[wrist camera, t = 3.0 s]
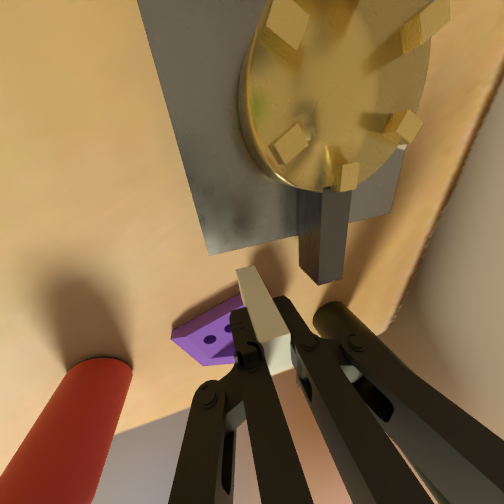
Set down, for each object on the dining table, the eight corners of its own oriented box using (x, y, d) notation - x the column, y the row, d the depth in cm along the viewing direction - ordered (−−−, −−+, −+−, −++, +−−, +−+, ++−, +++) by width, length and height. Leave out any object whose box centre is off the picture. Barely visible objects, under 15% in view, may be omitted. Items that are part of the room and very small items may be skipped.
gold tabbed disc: (222, -8, 10) (237, -129, 6) (390, -8, 12) (492, -99, 8) (260, 276, 19) (277, 306, 15) (352, 251, 20) (390, 272, 16)
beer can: (91, 346, 20) (-31, 550, 9) (145, 365, 23) (100, 533, 12) (54, 381, 20) (-98, 607, 10) (112, 394, 24) (42, 577, 13)
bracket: (258, 281, 22) (279, 324, 16) (277, 314, 25) (300, 359, 20) (172, 328, 22) (161, 389, 16) (203, 355, 25) (203, 414, 19)
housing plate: (108, -110, 9) (84, -183, 7) (429, -82, 12) (471, -127, 10) (208, 247, 18) (209, 256, 16) (375, 209, 21) (391, 213, 20)
